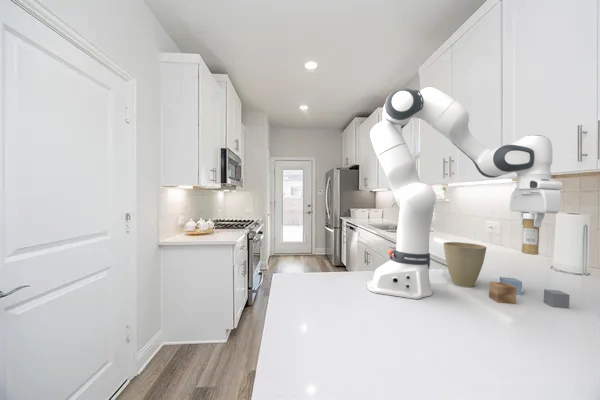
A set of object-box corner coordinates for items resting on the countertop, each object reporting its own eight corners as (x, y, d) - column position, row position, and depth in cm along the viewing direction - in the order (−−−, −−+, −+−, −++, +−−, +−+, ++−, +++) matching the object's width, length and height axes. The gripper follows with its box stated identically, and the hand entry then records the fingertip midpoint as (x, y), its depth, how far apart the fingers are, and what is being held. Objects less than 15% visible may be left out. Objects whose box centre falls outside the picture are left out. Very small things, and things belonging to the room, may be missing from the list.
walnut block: (497, 302, 93) (497, 286, 93) (489, 297, 99) (489, 281, 99) (515, 304, 92) (516, 287, 92) (506, 298, 98) (507, 282, 98)
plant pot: (437, 278, 122) (438, 241, 122) (474, 280, 120) (476, 243, 120) (449, 288, 107) (451, 246, 107) (492, 292, 105) (494, 249, 105)
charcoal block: (552, 307, 91) (553, 293, 91) (543, 302, 96) (544, 289, 96) (569, 308, 90) (569, 294, 90) (558, 303, 95) (559, 290, 95)
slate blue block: (506, 294, 103) (506, 280, 103) (499, 290, 108) (499, 277, 108) (521, 295, 102) (522, 281, 102) (513, 291, 107) (514, 278, 107)
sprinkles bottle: (540, 254, 94) (542, 213, 94) (535, 255, 91) (537, 213, 91) (524, 252, 98) (526, 213, 97) (518, 252, 95) (520, 212, 95)
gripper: (505, 186, 105) (503, 223, 105) (542, 182, 85) (540, 228, 85) (524, 186, 104) (522, 224, 104) (566, 183, 84) (564, 229, 84)
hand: (530, 226), depth 94 cm, fingers closed on sprinkles bottle, 4 cm apart
